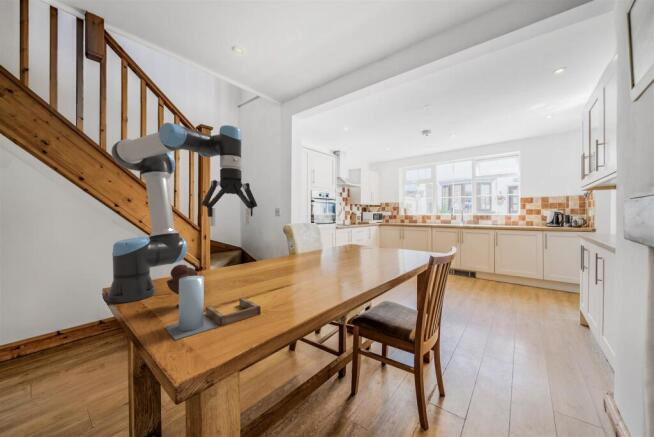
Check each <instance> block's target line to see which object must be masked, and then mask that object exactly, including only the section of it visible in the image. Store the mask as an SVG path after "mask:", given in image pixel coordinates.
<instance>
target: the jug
mask: <svg viewBox="0 0 654 437" xmlns="http://www.w3.org/2000/svg"><path fill="white" fill-rule="evenodd" d="M204 280H205V276H203V275H198V276H187V277H183V278H180V279H179V294H178V304H179V308H178V323H179V330H181V331H191V330H195V329H198V328H200V327H202V326H203V321H204V316H205V314H204V311H205V310H204V308H205V306H204V304H205V303H204V300H205V298H204V293H205V291H204V289H205V287H204V285H205V284H204V283H205V281H204Z"/></svg>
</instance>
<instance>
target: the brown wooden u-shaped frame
mask: <svg viewBox="0 0 654 437" xmlns="http://www.w3.org/2000/svg"><path fill="white" fill-rule="evenodd" d="M238 304H239V306H240V307H242V308H244V309H241V310H238V311H235V312H231V313H227V314H222V312H220V311H218V310H217V309H215V308H214V307H212V306H211V305H207V306H205V314H206V316H208V317H209V318H211V319H212V320H213V321H214V322H216V323H217V324H218V325H219V326H221V327H223V326H226V325H230V324H232V323H236V322H240V321H243V320H245V319H249V318H252V317H255V316H257V315H258V316H260V315H261V312H262V311H261V305H258V304H257V303H254V302H252V301H251V300H249V299H246V298H244V297H239V302H238Z"/></svg>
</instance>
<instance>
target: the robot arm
mask: <svg viewBox="0 0 654 437" xmlns="http://www.w3.org/2000/svg"><path fill="white" fill-rule="evenodd" d="M242 140H243V139H242V131H241V130H240V128H239V127H237V126H234V125H221V126H220V128H219V132H218V134H215V135H211V134H208V133H205V132H201V131H197V130H194V129H191V128H188V127H185V126H182V125H180V124H177V123H172V122H164V123H163V124H162V126H160V128H159V130H158V132H153V133H150V134H147V135H145V136H140V137H137V138H134V139H130V138H128V139H127V138H125V139H122V140H121V139H120V140H118V141H117V142H115V143H114V144H113V146H112V147H111V156H112V158H113V160H114V161H115V162H116V164H117V165H119V166H121V167H123V168H124V169H127V170H130V171H135V172H137V171H138V172H139V173H140V177H141V179H143V180H144V181H145V188H146V197H147V202H148V210H149V217H150V223H151V224H150V225H151V232H152V233H150V234H149V235H148V236H140V237H130V238H124V239H121V240H118V241H116V242H114V244H113V246H112V253H111V254H112V274H113V276H112V279H113V280H112V283H111V285H110V287H109V290H108V293H107V302H109V303H115V304H117V303H118V304H119V303H127V302H128V303H129V302H136V301H140V300H144V299H148V298H150V297H152V296H154V295H155V294H156V287H155V283H154V282H153V280H152V277H151V273H150V272H151V271H150V270H151V269H150V268H154V267H160V266H166V265H173V264H176V263H180V262H181V261H182V260H184V258H185V257H186V255H187V251H188V245H187V244H188V243H187V240H185V238H184V237H181V236H180V233H179V231H177V230H176V229H175V222H174V214H173V208H172V207H173V206H172V200H171V199H172V198H171V193H170V187H169V186H170V185H169V179H170V178H171V177H172V174H173V173H174V172H175V168H176V161H175V157H174V156H173V155H172V152H177V151H180V150H183V151H184V150H185V151H189V152H193V153H196V154H198V155H200V156H201V157H204V158H212V157H217V156H219V167H220V169H219V181H218V180H216V179H214V180H211V182H210V187H209V189H208V191H207V193H206V195H205V197H204V199H203V201H202V202H201V205H202V207H206V209H207V210H206V211H207V218H209V224H210V225H209V226H210V227H216V207H214V206H215V205H216V204H217V203H218V202H219V200H220V199H221V198H222V197H223V196H224V195H225V194H226V195H228V194H229V195H230V194H231V195H236V196H238V197H239V199H240V200H241V201H242V203H244V205H245V206H246V207H247V208H245V226H251V224H252V222H251V218H252V217H253V215H254V212H253V210H254V208H257V207H258V204H257V201H256V199H255V197H254V194H253V193H252V190H251V188H250V185H251V184H250V183H249V182H246V183H242V170H241V169H242ZM218 187H220V188H221V189H220V190H218V192H217V193H216V195H215V196H214V197H213V195H214V193H215V192H216V189H217V188H218ZM242 189H243V190H244V192H243V191H242ZM212 197H213V198H212Z"/></svg>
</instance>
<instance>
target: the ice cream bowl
mask: <svg viewBox="0 0 654 437" xmlns="http://www.w3.org/2000/svg"><path fill="white" fill-rule="evenodd" d="M170 276H171V278H170V279H168V280H166V285H167V287H168V289H169V290H170V291H171V292H172V293H174V294H176V295H179V279H180V278H183V277H187V276H199V274H198V271H197V270H195V269H194V268H192V267H190V266H189V267H188V265H186V264H177V265H175V266H173V267H172V269H171V271H170ZM175 308H177V309H179V303H177V304H176V306H175Z"/></svg>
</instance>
